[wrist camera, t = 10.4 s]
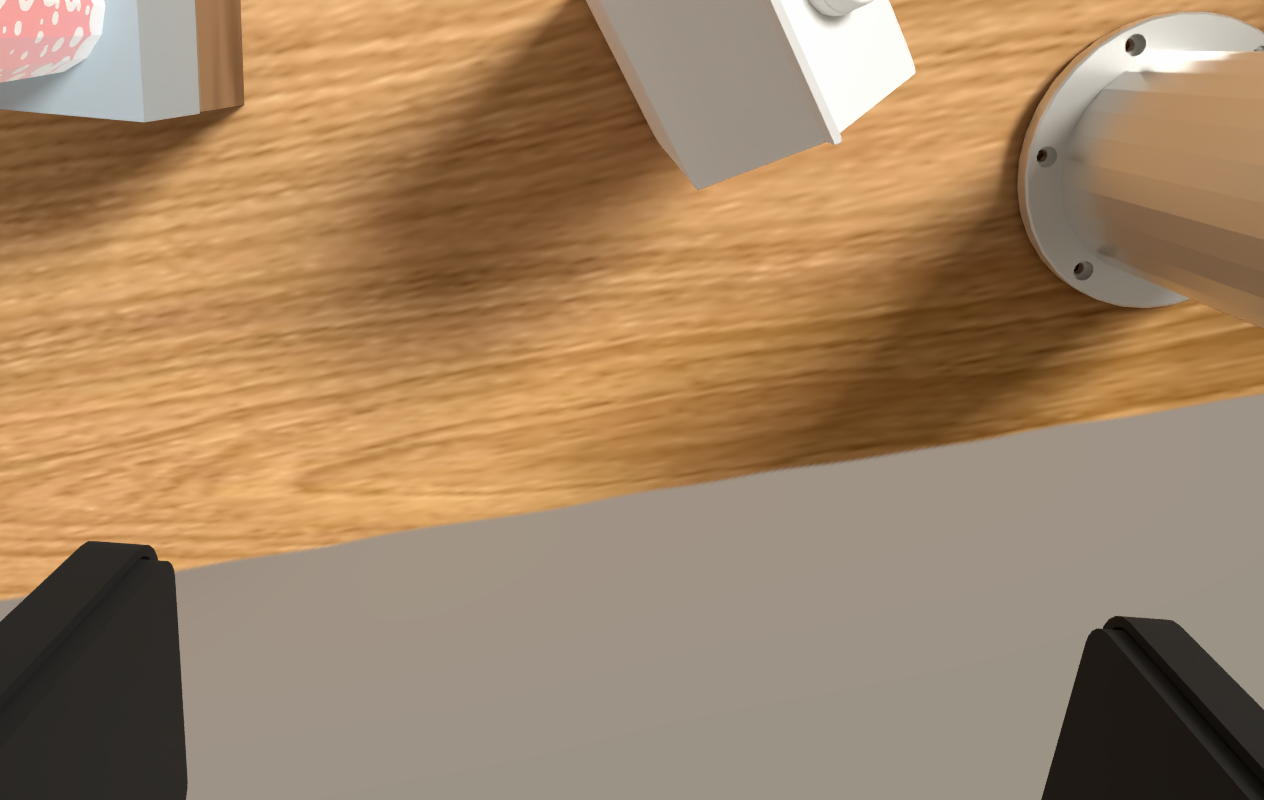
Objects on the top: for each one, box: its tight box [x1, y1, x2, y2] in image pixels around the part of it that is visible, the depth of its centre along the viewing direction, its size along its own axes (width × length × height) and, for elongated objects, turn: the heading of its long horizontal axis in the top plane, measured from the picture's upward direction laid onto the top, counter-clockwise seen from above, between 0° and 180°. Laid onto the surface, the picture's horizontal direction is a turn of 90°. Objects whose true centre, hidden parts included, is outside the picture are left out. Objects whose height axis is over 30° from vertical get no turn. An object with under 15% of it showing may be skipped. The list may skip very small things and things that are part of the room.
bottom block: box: [195, 0, 244, 112], centre depth 38 cm, size 7×7×5 cm
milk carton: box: [586, 0, 915, 190], centre depth 33 cm, size 7×7×19 cm
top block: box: [0, 0, 200, 122], centre depth 34 cm, size 7×7×5 cm
